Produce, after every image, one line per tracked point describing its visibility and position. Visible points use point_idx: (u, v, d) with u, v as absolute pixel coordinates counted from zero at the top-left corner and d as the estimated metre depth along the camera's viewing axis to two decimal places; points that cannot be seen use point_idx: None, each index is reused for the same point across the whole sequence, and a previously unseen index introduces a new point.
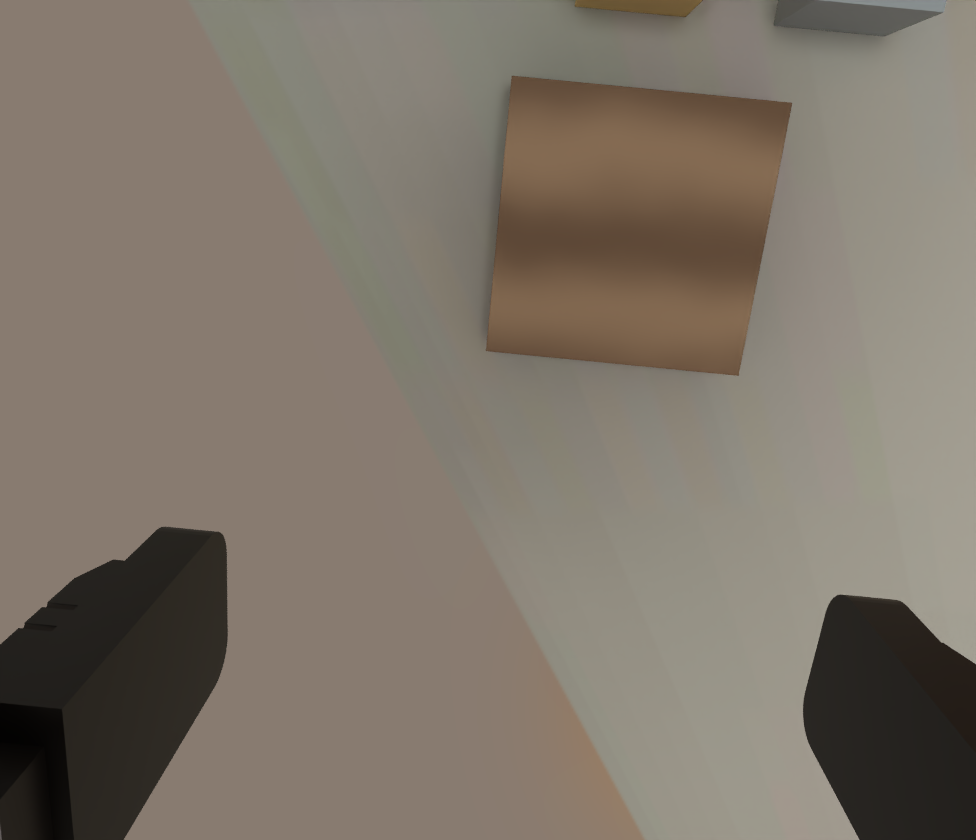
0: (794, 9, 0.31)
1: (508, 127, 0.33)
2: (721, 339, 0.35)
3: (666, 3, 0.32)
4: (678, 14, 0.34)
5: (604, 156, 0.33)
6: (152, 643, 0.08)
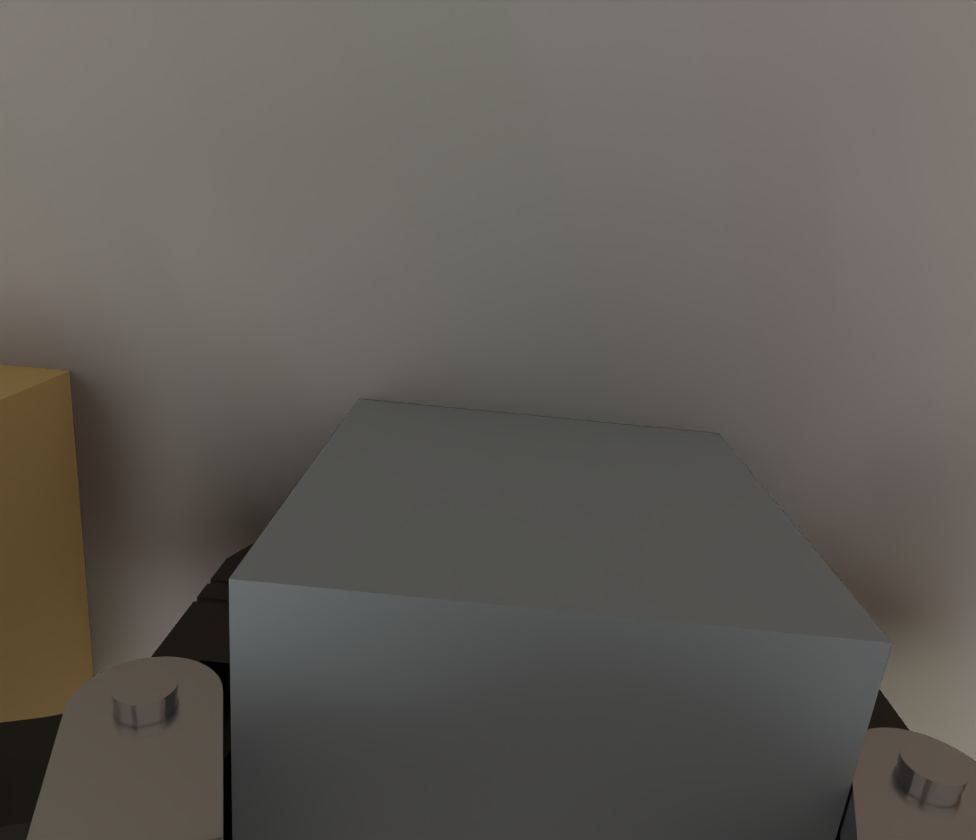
0: None
1: None
2: None
3: None
4: None
5: None
6: None
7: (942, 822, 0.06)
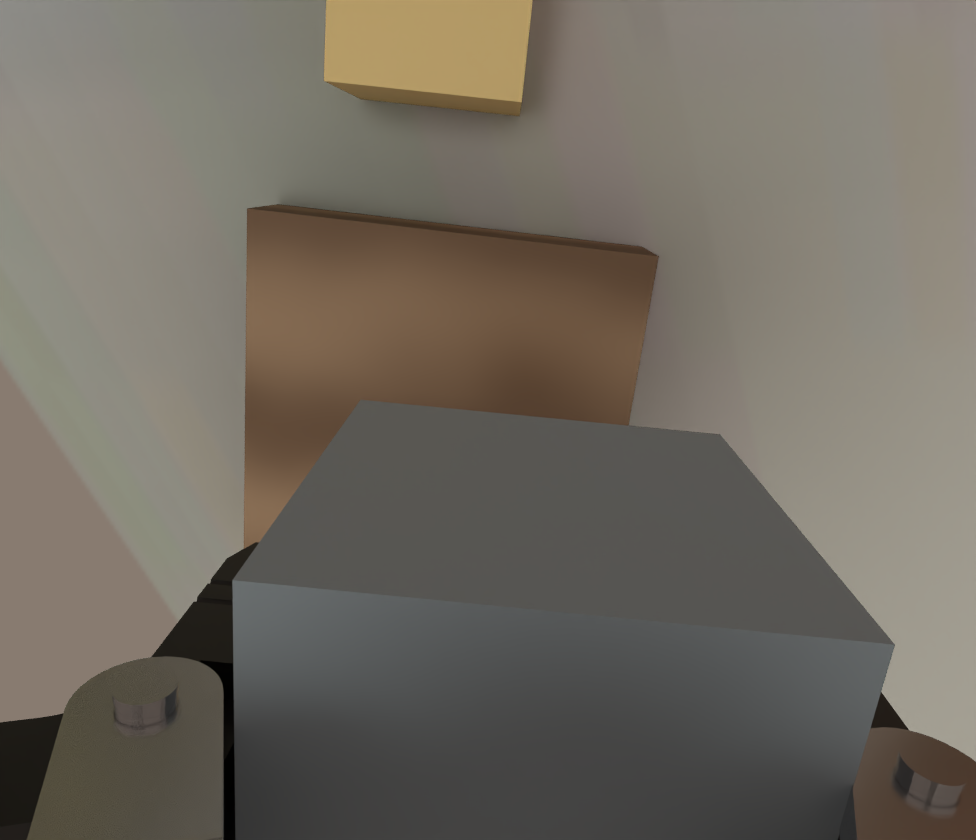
0: None
1: (248, 280, 0.22)
2: None
3: (476, 106, 0.22)
4: (506, 114, 0.23)
5: (389, 323, 0.23)
6: None
7: (942, 822, 0.06)
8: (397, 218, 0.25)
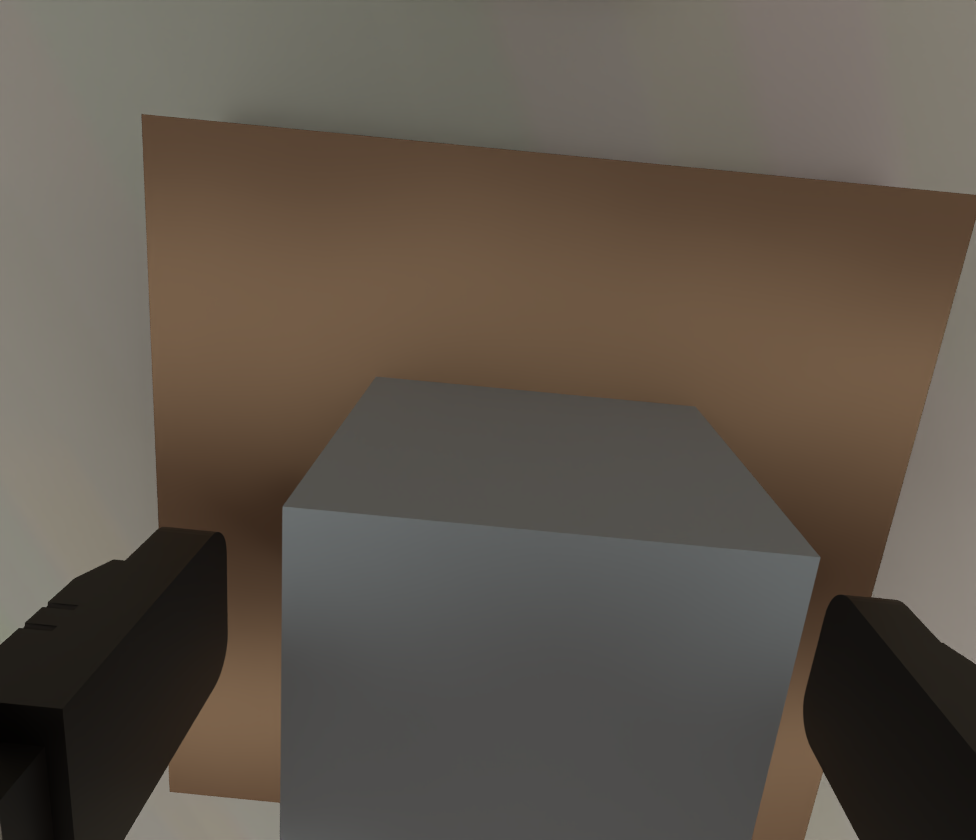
0: None
1: (151, 261, 0.11)
2: None
3: None
4: None
5: (431, 341, 0.12)
6: (152, 643, 0.08)
7: None
8: None
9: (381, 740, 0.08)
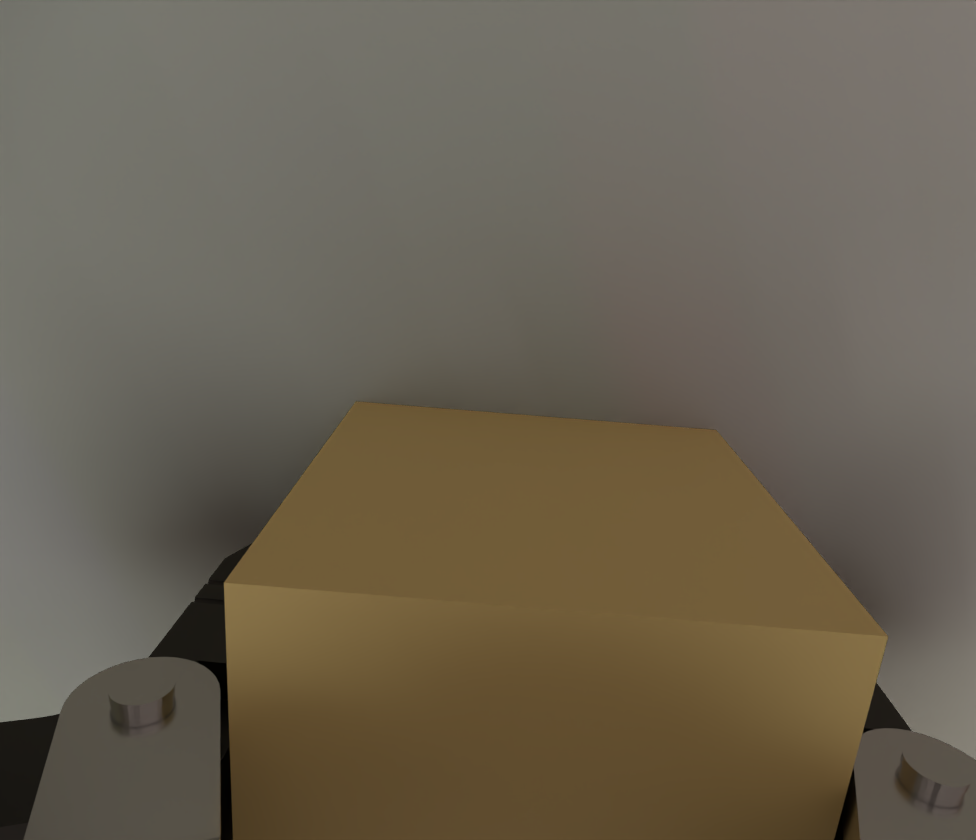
0: None
1: None
2: None
3: None
4: None
5: None
6: None
7: (945, 823, 0.06)
8: None
9: None
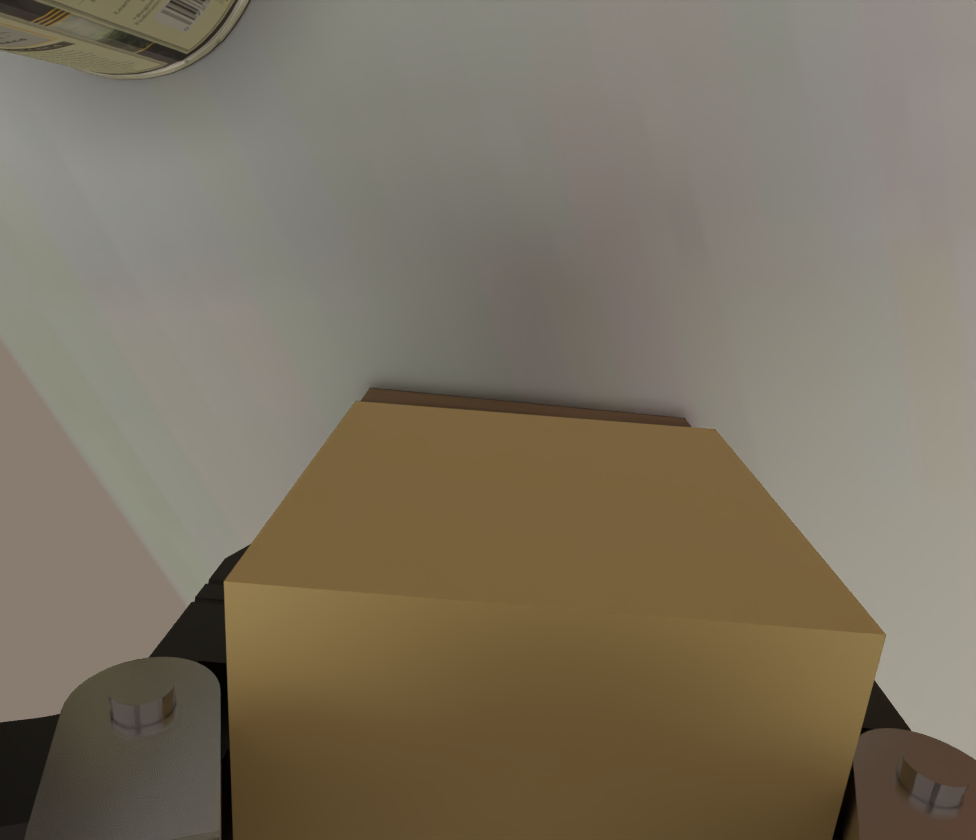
0: None
1: None
2: None
3: None
4: None
5: None
6: None
7: (945, 823, 0.06)
8: (473, 398, 0.28)
9: None
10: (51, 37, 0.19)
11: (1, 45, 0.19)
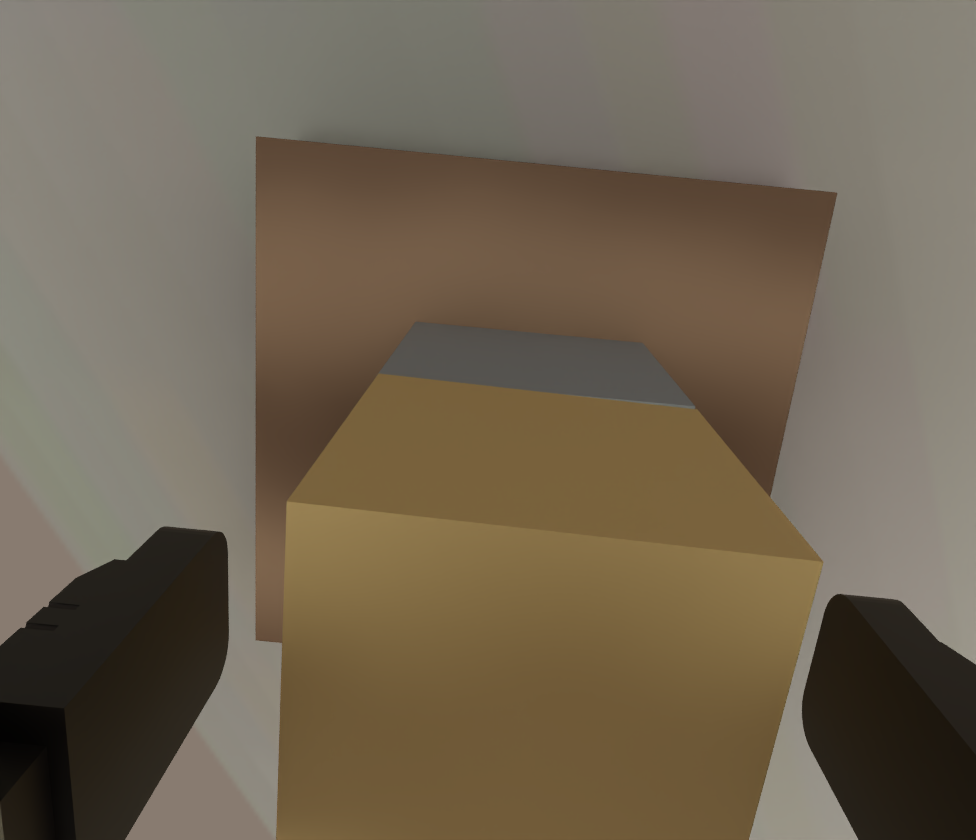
0: None
1: (258, 239, 0.16)
2: None
3: None
4: None
5: (455, 295, 0.16)
6: (154, 643, 0.08)
7: None
8: None
9: None
10: None
11: None
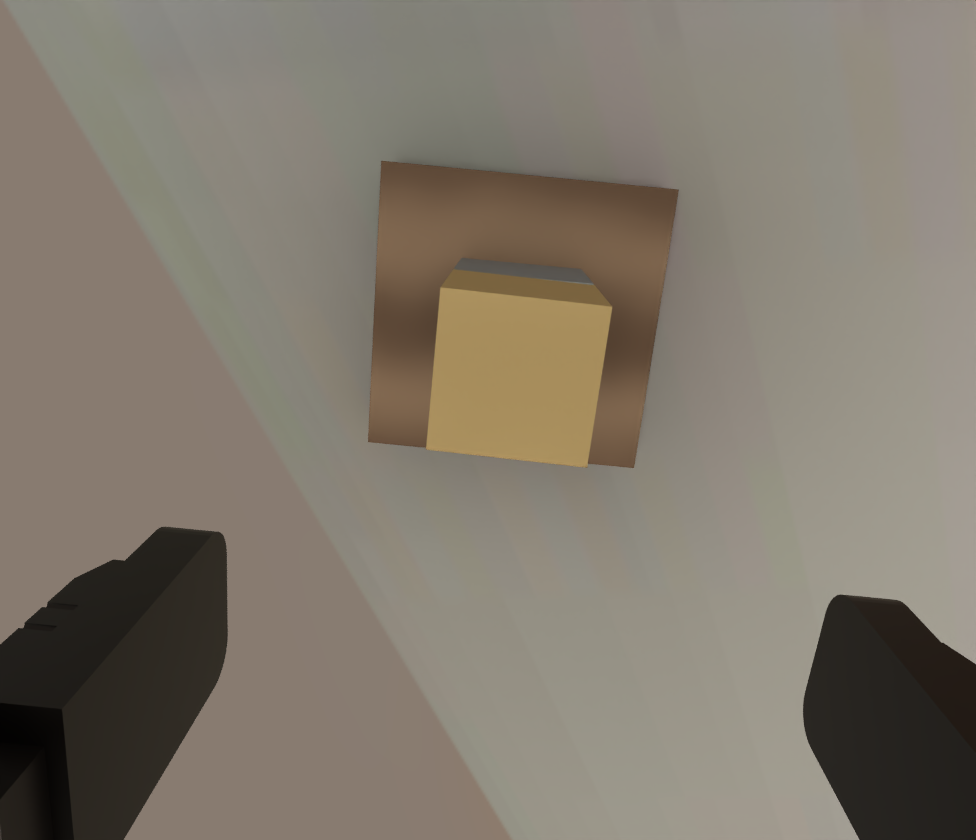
0: None
1: (380, 213, 0.31)
2: (614, 431, 0.33)
3: None
4: None
5: (482, 244, 0.31)
6: (152, 644, 0.08)
7: None
8: None
9: None
10: None
11: None
